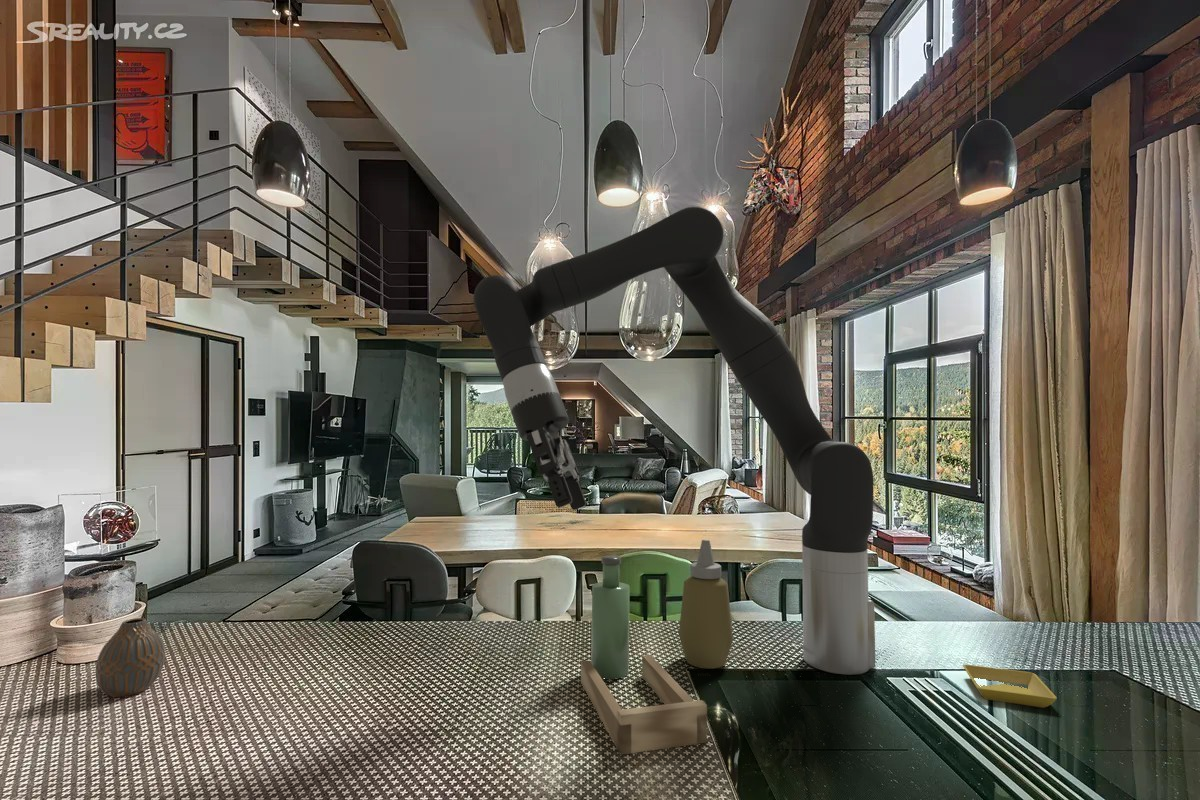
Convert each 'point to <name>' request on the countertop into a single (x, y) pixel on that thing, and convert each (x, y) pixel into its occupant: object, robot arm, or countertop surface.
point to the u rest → (648, 712)
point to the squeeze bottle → (705, 613)
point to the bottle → (610, 622)
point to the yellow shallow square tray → (1032, 696)
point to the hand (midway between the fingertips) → (572, 506)
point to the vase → (130, 659)
